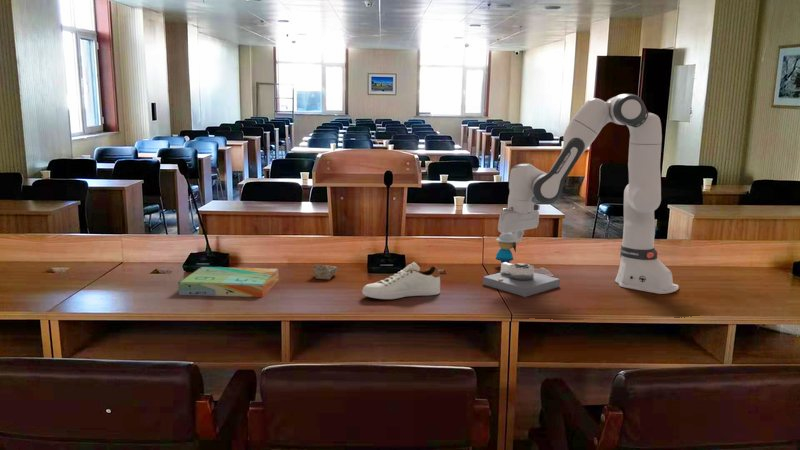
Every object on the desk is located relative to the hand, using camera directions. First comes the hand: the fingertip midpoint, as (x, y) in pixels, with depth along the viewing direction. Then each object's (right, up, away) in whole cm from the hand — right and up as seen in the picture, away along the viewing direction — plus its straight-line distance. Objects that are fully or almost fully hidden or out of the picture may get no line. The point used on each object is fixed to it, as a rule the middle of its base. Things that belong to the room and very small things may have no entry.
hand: (517, 241), depth 241 cm
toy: (-1, -11, +21) cm, 24 cm away
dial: (-1, -13, -5) cm, 14 cm away
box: (-107, -17, -10) cm, 109 cm away
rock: (-74, -14, +4) cm, 75 cm away
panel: (0, -16, -6) cm, 17 cm away
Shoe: (-45, -19, -19) cm, 52 cm away
